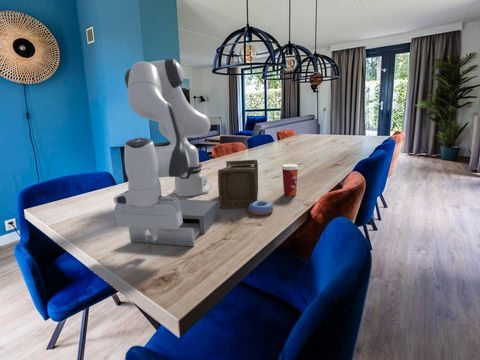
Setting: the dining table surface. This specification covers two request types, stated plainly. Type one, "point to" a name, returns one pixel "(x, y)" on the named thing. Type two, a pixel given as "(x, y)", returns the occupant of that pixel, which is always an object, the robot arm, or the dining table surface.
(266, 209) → the doughnut
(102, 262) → the dining table surface
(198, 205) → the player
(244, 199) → the ornamental box
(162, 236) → the tray
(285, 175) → the paper cup
